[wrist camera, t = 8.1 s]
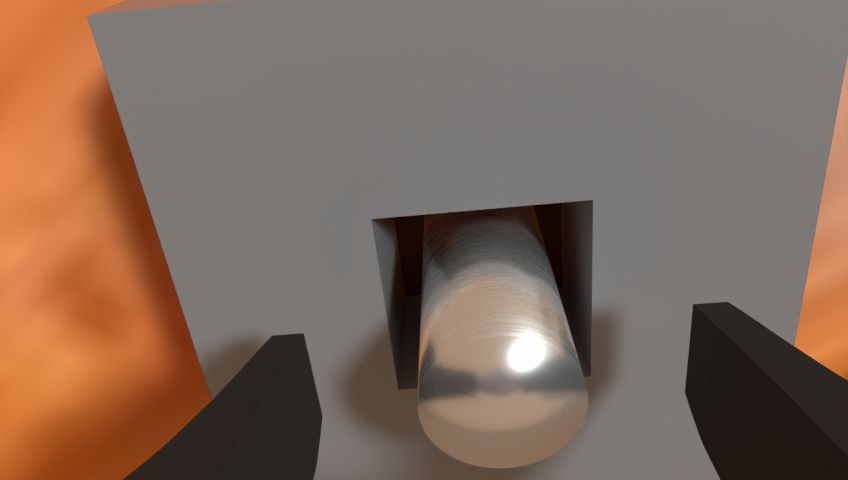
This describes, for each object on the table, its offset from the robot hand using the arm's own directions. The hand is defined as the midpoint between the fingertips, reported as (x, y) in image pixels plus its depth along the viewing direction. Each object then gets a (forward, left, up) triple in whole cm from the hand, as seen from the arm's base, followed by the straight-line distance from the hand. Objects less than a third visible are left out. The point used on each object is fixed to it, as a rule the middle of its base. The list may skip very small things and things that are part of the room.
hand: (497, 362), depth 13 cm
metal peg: (0, 0, -6) cm, 6 cm away
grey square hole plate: (0, 0, -6) cm, 6 cm away
